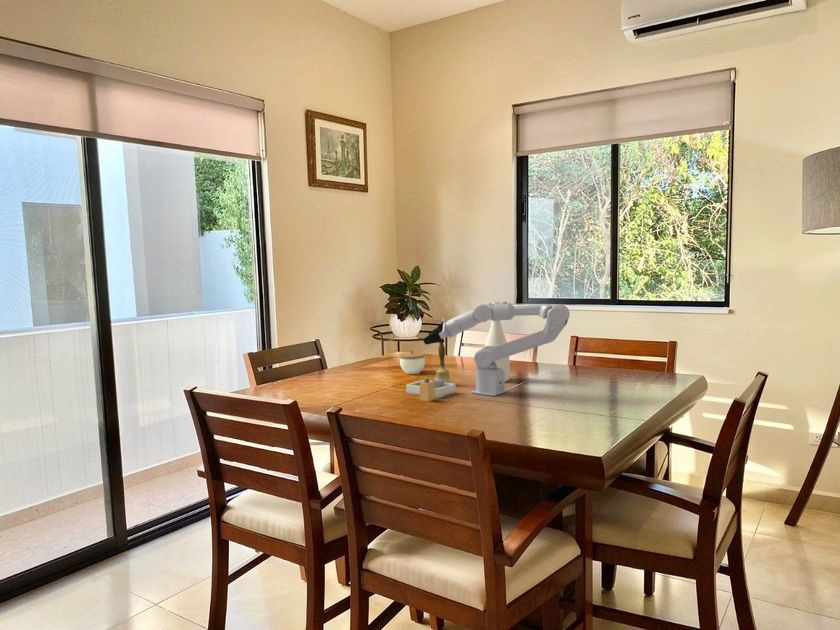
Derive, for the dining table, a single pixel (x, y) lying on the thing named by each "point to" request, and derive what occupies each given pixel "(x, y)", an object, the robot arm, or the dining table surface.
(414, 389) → the box
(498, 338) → the wine bottle
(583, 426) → the dining table surface
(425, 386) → the tan wooden block
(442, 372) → the hand bell
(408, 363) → the lidded jar
